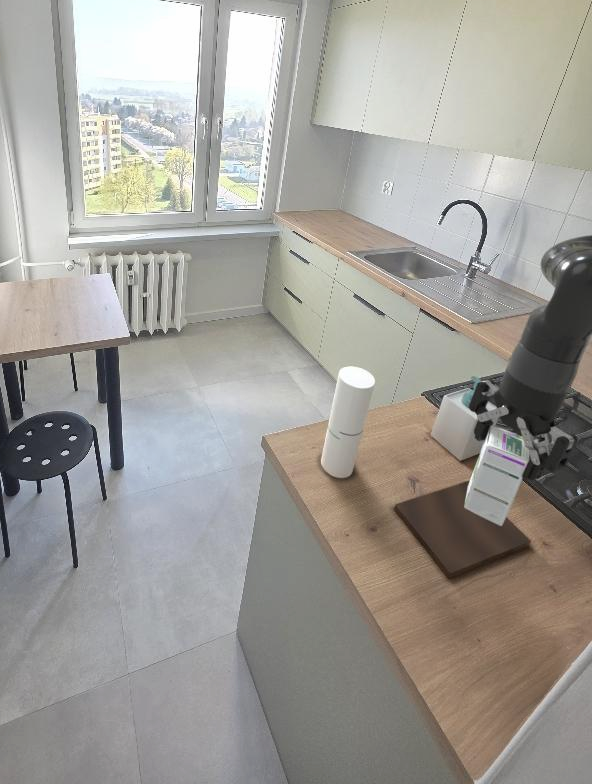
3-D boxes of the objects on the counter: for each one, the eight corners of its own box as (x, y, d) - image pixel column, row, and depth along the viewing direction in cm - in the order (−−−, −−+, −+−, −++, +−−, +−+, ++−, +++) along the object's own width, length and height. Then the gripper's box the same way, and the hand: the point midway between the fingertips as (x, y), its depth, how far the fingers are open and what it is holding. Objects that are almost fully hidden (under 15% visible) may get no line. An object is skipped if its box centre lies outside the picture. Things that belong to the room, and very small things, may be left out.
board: (467, 485, 92) (468, 480, 92) (528, 546, 80) (531, 541, 80) (393, 509, 86) (395, 504, 86) (448, 578, 74) (450, 573, 74)
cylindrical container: (350, 482, 92) (373, 392, 82) (318, 470, 94) (336, 381, 84) (354, 459, 98) (376, 372, 88) (324, 448, 100) (341, 362, 90)
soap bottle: (460, 462, 98) (485, 398, 90) (430, 435, 106) (450, 374, 98) (485, 452, 101) (512, 389, 93) (454, 426, 109) (476, 366, 101)
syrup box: (502, 528, 68) (533, 463, 62) (461, 507, 71) (487, 444, 65) (504, 502, 72) (533, 439, 66) (466, 484, 75) (490, 423, 69)
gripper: (611, 401, 56) (565, 488, 62) (509, 344, 68) (480, 421, 75) (574, 413, 53) (530, 502, 60) (475, 351, 66) (448, 430, 72)
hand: (502, 457), depth 67 cm, fingers closed on syrup box, 7 cm apart
